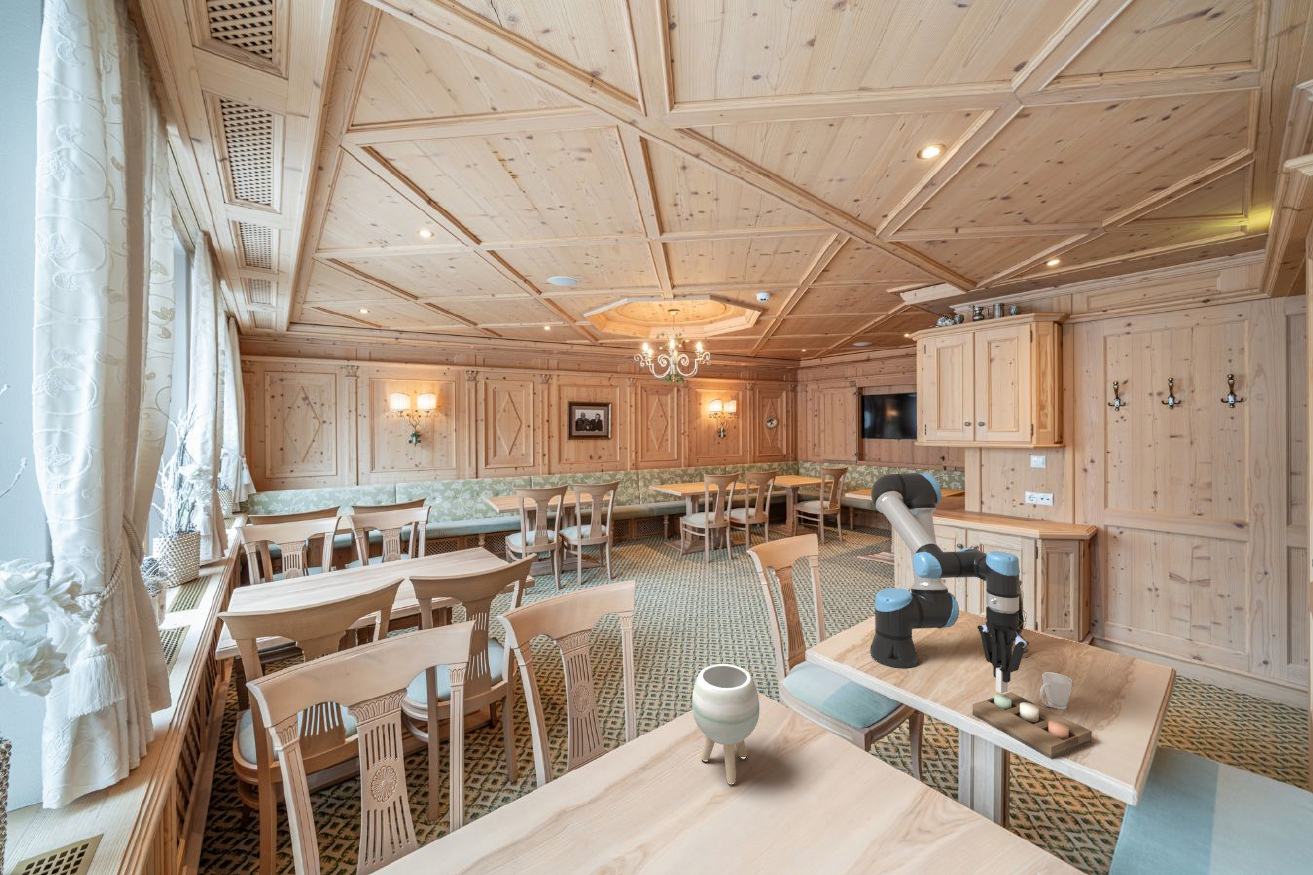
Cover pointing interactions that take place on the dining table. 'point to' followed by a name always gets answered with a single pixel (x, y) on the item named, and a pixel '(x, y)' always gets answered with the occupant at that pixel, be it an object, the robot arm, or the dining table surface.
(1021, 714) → the white egg
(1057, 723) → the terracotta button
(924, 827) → the dining table surface
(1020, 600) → the lantern
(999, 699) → the pale green egg
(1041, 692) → the cup
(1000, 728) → the wooden egg tray
